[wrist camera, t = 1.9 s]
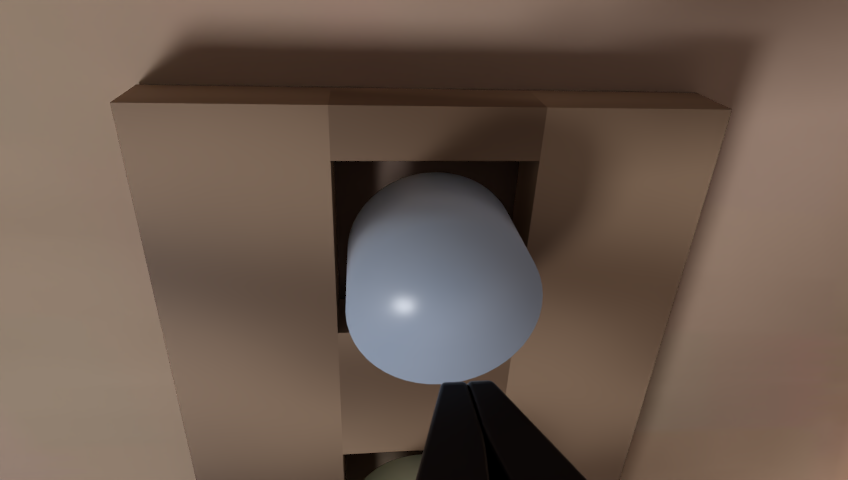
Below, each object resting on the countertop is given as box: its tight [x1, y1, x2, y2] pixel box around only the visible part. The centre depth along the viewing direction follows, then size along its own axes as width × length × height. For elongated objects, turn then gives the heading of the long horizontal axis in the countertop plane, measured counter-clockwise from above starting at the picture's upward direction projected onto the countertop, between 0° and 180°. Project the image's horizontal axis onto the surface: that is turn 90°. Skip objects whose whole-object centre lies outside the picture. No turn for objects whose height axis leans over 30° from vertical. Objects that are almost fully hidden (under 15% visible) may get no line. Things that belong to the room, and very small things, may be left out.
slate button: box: [345, 172, 543, 384], centre depth 12 cm, size 4×4×2 cm
